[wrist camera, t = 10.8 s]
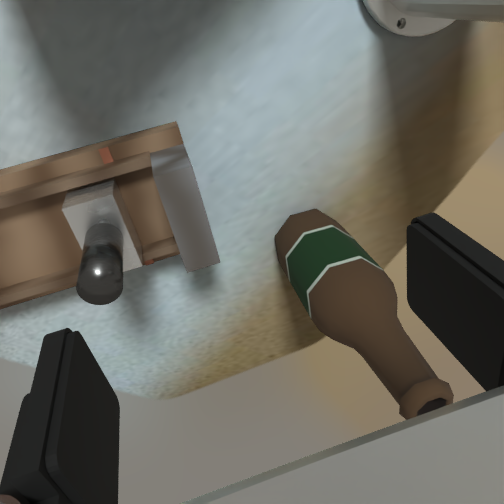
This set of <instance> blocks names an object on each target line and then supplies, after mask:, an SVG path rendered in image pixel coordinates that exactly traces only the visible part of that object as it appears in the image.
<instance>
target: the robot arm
mask: <svg viewBox="0 0 504 504" xmlns="http://www.w3.org/2000/svg"><path fill="white" fill-rule="evenodd" d="M363 3H364V5H365V7H366V8H367V10H368V12H369V13H370V15H371V16H372V17H373V18H374V19H375V20H376V22H377V23H378V24H379V25H381V26H382V27H384V28H385V29H387V30H388V31H390V32H393V33H396V34H399V35H404V36H410V37H414V36H425V35H429V34H433V33H436V32H438V31H440V30H442V29H444V28H446V27H448V26H449V25H450V24H452V23H453V22H454V21H456V20H471V21H487V22H502V23H504V0H363ZM397 22H398V25H397ZM407 300H408V303H409V306H410V308H411V309H412V310H413V312H414V313H415V314H416V315H417V316H418V317H419V318H420V319H421V320H422V321H423V322H424V324H425V325H426V326H427V327H428V328H429V329H430V330H431V331H432V332H433V333H434V335H435V336H436V337H437V338H438V339H439V340H440V341H441V342H442V343H443V344H444V345H445V347H446V348H447V349H448V350H449V351H450V352H451V353H452V354H453V355H454V357H455V358H456V359H457V360H458V361H459V362H460V363H461V364H462V365H463V366H464V367H465V369H466V370H467V371H468V372H469V373H470V374H471V375H472V376H473V377H474V378H475V380H476V381H477V382H478V383H479V384H480V385H481V386H482V387H483V388H484V389H485V390H486V392H483V393H481V394H478V395H475V396H472V397H469V398H467V399H464V400H461V401H458V402H456V403H453V404H450V405H447V406H444V407H442V408H439V409H436V410H433V411H430V412H428V413H425V414H422V415H419V416H417V417H414V418H411V419H408V420H405V421H403V422H400V423H397V424H394V425H392V426H389V427H386V428H384V429H381V430H378V431H375V432H373V433H370V434H367V435H364V436H362V437H359V438H357V439H353V440H351V441H348V442H345V443H342V444H340V445H337V446H334V447H332V448H329V449H326V450H323V451H321V452H318V453H315V454H313V455H310V456H307V457H304V458H302V459H299V460H296V461H294V462H291V463H288V464H285V465H282V466H280V467H277V468H275V469H272V470H269V471H267V472H264V473H261V474H258V475H256V476H253V477H250V478H248V479H245V480H242V481H240V482H237V483H234V484H231V485H229V486H226V487H223V488H221V489H218V490H216V491H213V492H210V493H208V494H205V495H202V496H199V497H197V498H194V499H191V500H189V501H186V502H183V503H181V504H504V261H503V260H502V259H500V258H499V257H498V256H496V255H495V254H493V253H492V252H490V251H489V250H488V249H486V248H484V247H483V246H482V245H480V244H479V243H478V242H476V241H475V240H473V239H472V238H470V237H469V236H468V235H466V234H465V233H463V232H462V231H460V230H459V229H457V228H456V227H455V226H453V225H452V224H450V223H449V222H447V221H446V220H445V219H443V218H442V217H440V216H439V215H437V214H436V213H429V214H426V215H423V216H420V217H416V218H414V219H413V220H412V222H411V225H409V226H408V227H407ZM119 415H120V407H119V402H118V399H117V396H116V394H115V392H114V391H113V389H112V387H111V385H110V384H109V382H108V380H107V378H106V377H105V375H104V373H103V372H102V370H101V368H100V366H99V365H98V363H97V361H96V359H95V358H94V356H93V354H92V352H91V351H90V349H89V347H88V346H87V344H86V342H85V340H84V339H83V337H82V335H81V334H80V332H79V331H74V332H72V331H71V330H70V329H69V328H66V329H63V330H59V331H56V332H53V333H50V334H47V335H45V337H44V339H43V343H42V347H41V351H40V355H39V359H38V363H37V367H36V372H35V376H34V380H33V384H32V388H31V392H30V393H29V394H27V395H26V396H25V397H24V399H23V401H22V404H21V408H20V412H19V415H18V419H17V423H16V427H15V431H14V434H13V438H12V443H11V446H10V450H9V453H8V457H7V461H6V465H5V469H4V473H3V477H2V480H1V484H0V504H118V467H119V418H120V416H119Z"/></svg>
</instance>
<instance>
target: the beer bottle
mask: <svg viewBox="0 0 504 504" xmlns="http://www.w3.org/2000/svg"><path fill="white" fill-rule="evenodd" d="M275 242H276V248H277V255H278V260H279V262H280V264H281V267H282V269H283V270H284V272H285V274H286V276H287V277H288V279H289V281H290V283H291V284H292V286H293V288H294V290H295V291H296V293H297V295H298V297H299V298H300V300H301V302H302V304H303V305H304V307H305V309H306V311H307V312H308V314H309V316H310V317H311V319H312V321H313V322H314V323H315V325H316V326H317V327H318V329H319V330H320V331H321V332H322V333H324V334H325V335H327V336H328V337H330V338H331V339H333V340H335V341H338V342H340V343H342V344H344V345H347V346H349V347H351V348H354V349H355V350H356V351H357V352H358V353H359V354H360V355H361V356H362V357H363V358H364V359H365V361H366V362H367V363H368V365H369V366H370V367H371V369H372V370H373V371H374V372H375V374H376V375H377V376H378V378H379V379H380V380H381V382H382V383H383V384H384V386H385V387H386V388H387V390H388V391H389V392H390V393H391V395H392V396H393V397H394V399H395V400H396V401H397V402H398V404H399V405H400V412H399V414H400V415H401V416H403V417H404V418H405V419H406V420H408V419H411V418H414V417H417V416H419V415H422V414H425V413H428V412H430V411H433V410H436V409H439V408H442V407H444V406H447V405H450V404H453V396H454V395H453V393H452V390H451V388H450V385H449V383H447V382H445V381H442V380H440V379H439V378H438V377H437V376H436V374H435V373H434V371H433V370H432V369H431V367H430V366H429V364H428V363H427V362H426V360H425V359H424V357H423V356H422V355H421V353H420V352H419V351H418V349H417V348H416V346H415V345H414V344H413V342H412V341H411V339H410V338H409V336H408V335H407V334H406V332H405V331H404V329H403V327H402V326H401V323H400V321H399V319H398V318H397V294H396V291H395V287H394V284H393V282H392V281H391V280H390V278H389V277H388V276H387V274H386V273H385V272H384V270H383V269H382V268H381V267H380V266H379V265H378V264H377V263H376V262H375V261H374V260H373V259H372V258H371V257H370V256H369V255H368V253H367V252H366V251H365V250H364V249H363V248H362V247H361V246H360V245H359V244H358V243H357V242H356V241H355V240H354V239H353V237H352V236H351V235H350V234H349V233H348V232H347V231H346V230H345V229H344V228H343V227H342V226H341V225H340V224H339V223H337V222H336V221H335V220H334V219H332V218H330V217H329V216H327V215H325V214H324V213H322V212H321V211H319V210H317V209H312V210H309V211H305V212H301V213H298V214H294V215H290V216H289V218H288V219H287V220H286V222H285V223H284V225H283V226H282V227H281V229H280V230H279V231H278V233H277V234H276V235H275Z"/></svg>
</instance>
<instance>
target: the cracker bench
mask: <svg viewBox="0 0 504 504" xmlns="http://www.w3.org/2000/svg"><path fill="white" fill-rule="evenodd" d="M111 177H114V178H115V181H116V183H117V186H118V188H119V191H120V193H121V196H122V198H123V200H124V203H125V205H126V208H127V210H128V213H129V215H130V218H131V220H132V223H133V225H134V227H135V230H136V232H137V235H138V237H139V240H140V242H141V247H142V265H149V264H153V263H154V262H156V261H159V260H162V259H165V258H169V257H172V256H175V255H178V254H181V257H182V260H183V263H184V265H185V268H186V271H187V273H188V272H191V271H195V270H198V269H201V268H204V267H207V266H211V265H214V264H217V263H220V259H219V256H218V252H217V249H216V245H215V242H214V239H213V235H212V232H211V229H210V225H209V222H208V218H207V215H206V212H205V208H204V205H203V202H202V198H201V195H200V191H199V188H198V185H197V181H196V178H195V175H194V171H193V168H192V165H191V162H190V160H189V157H188V154H187V152H186V149H185V147H184V144H183V141H182V137H181V134H180V131H179V127H178V125H177V122H176V121H175V122H172V123H168V124H165V125H161V126H157V127H154V128H150V129H146V130H143V131H139V132H135V133H132V134H128V135H125V136H121V137H117V138H114V139H110V140H106V141H103V142H99V143H96V144H92V145H88V146H85V147H81V148H77V149H74V150H70V151H67V152H63V153H59V154H56V155H52V156H48V157H45V158H41V159H37V160H34V161H30V162H27V163H23V164H19V165H16V166H12V167H8V168H5V169H1V170H0V309H3V308H6V307H9V306H12V305H16V304H19V303H22V302H25V301H29V300H32V299H35V298H38V297H42V296H45V295H48V294H51V293H55V292H58V291H61V290H64V289H68V288H71V287H74V286H76V284H77V279H78V273H79V268H80V262H81V256H82V249H81V247H80V245H79V243H78V241H77V239H76V237H75V235H74V233H73V231H72V229H71V227H70V225H69V223H68V221H67V219H66V217H65V215H64V213H63V211H62V206H63V203H64V200H65V197H66V194H67V190H69V189H73V188H76V187H80V186H83V185H87V184H90V183H94V182H97V181H101V180H104V179H108V178H111Z"/></svg>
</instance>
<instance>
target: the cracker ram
mask: <svg viewBox="0 0 504 504" xmlns="http://www.w3.org/2000/svg"><path fill="white" fill-rule="evenodd" d="M62 211H63V213H64V215H65V217H66V219H67V221H68V223H69V225H70V227H71V229H72V231H73V233H74V235H75V237H76V239H77V241H78V243H79V245H80V247H81V249H82V256H81V262H80V268H79V273H78V279H77V284H76V289H77V292H78V294H79V296H80V297H81V298H82V299H83V300H84V301H86V302H88V303H91V304H95V305H104V304H109V303H111V302H113V301H115V300H116V299H117V298H118V297H119V296H120V294H121V293H122V289H123V272H125V271H128V270H132V269H135V268H138V267H142V266H143V265H142V247H141V242H140V240H139V237H138V235H137V232H136V230H135V227H134V225H133V223H132V220H131V218H130V215H129V213H128V210H127V208H126V205H125V203H124V200H123V198H122V196H121V193H120V191H119V188H118V186H117V183H116V181H115V178H114V177H111V178H108V179H104V180H101V181H97V182H94V183H90V184H87V185H83V186H80V187H76V188H73V189H69V190H67V194H66V197H65V200H64V203H63V206H62Z"/></svg>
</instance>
